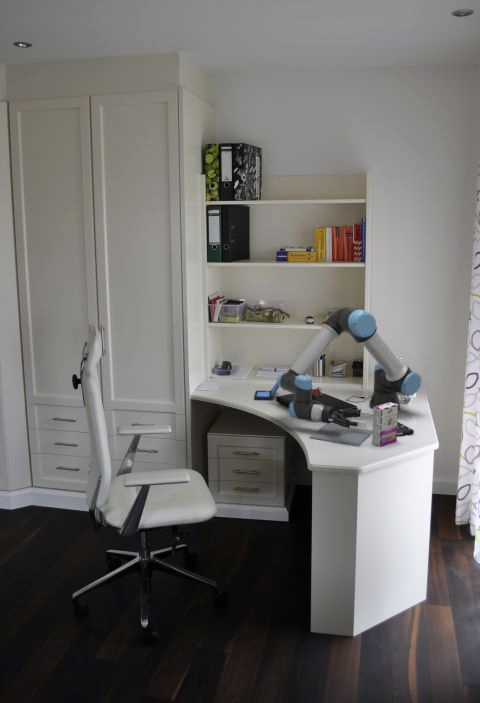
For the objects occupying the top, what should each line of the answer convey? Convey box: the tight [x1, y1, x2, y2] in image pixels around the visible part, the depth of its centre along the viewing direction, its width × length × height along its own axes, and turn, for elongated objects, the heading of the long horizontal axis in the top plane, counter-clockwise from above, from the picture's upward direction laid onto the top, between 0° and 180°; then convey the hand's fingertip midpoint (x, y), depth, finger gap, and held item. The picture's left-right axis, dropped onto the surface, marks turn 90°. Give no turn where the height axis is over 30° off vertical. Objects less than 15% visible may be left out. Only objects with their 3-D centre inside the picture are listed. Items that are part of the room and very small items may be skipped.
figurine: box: [312, 386, 324, 395], centre depth 355 cm, size 15×12×7 cm
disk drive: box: [397, 421, 415, 438], centre depth 302 cm, size 10×3×15 cm
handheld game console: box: [253, 382, 280, 402], centre depth 356 cm, size 16×13×9 cm
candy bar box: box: [371, 402, 399, 447], centre depth 284 cm, size 11×5×16 cm, turn 129°
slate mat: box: [308, 423, 373, 447], centre depth 295 cm, size 22×22×1 cm
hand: (370, 420), depth 287 cm, fingers open, 13 cm apart
